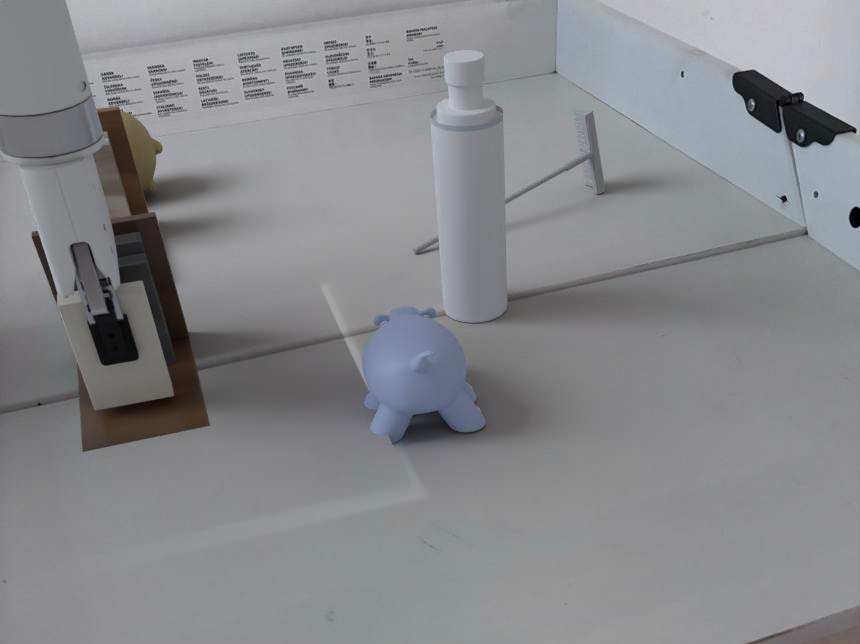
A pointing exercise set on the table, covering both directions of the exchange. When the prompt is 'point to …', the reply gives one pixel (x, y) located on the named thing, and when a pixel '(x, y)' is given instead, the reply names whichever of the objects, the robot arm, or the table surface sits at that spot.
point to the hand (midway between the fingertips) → (119, 351)
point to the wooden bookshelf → (118, 168)
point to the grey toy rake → (566, 164)
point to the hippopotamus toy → (417, 374)
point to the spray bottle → (470, 193)
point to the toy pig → (142, 150)
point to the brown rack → (186, 408)
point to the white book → (120, 379)
